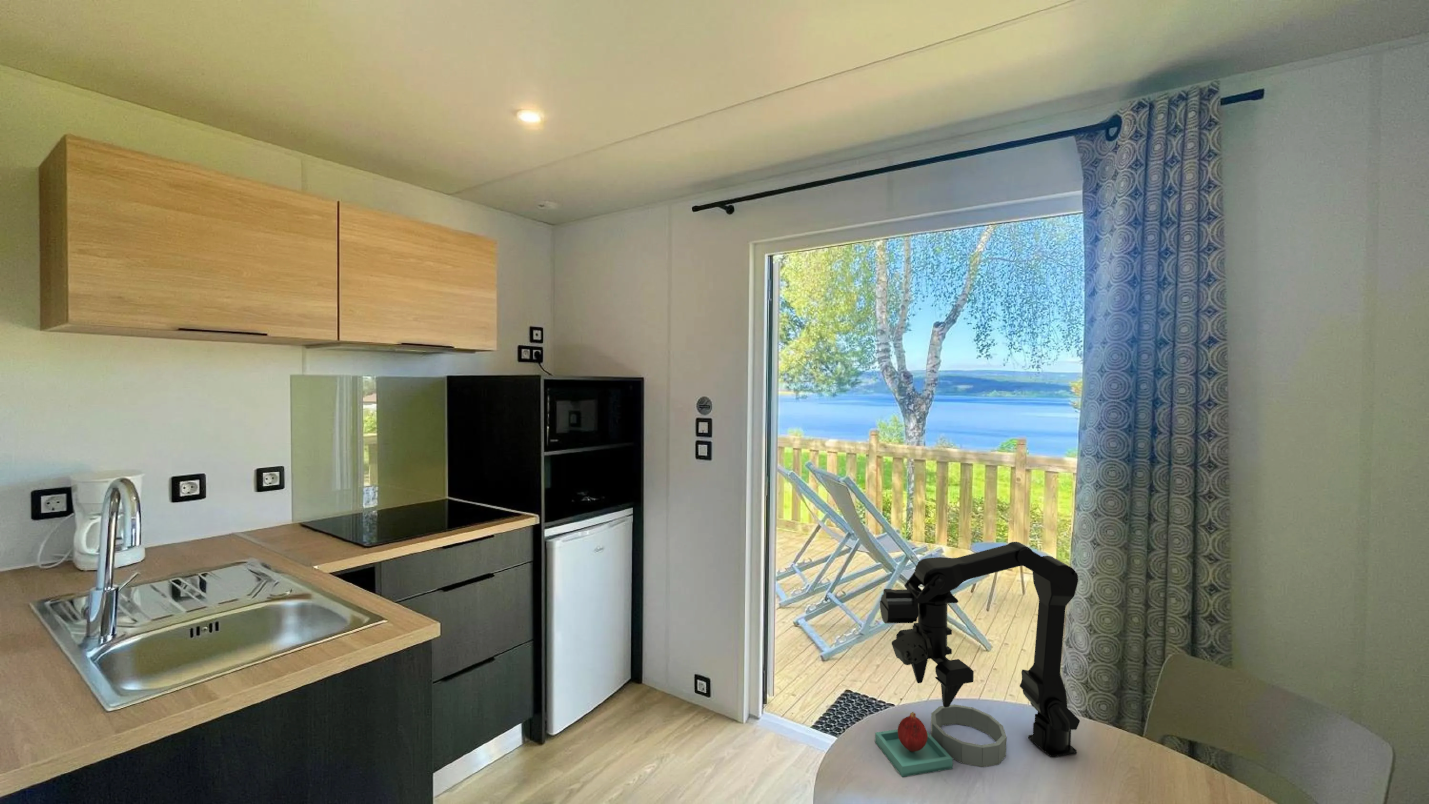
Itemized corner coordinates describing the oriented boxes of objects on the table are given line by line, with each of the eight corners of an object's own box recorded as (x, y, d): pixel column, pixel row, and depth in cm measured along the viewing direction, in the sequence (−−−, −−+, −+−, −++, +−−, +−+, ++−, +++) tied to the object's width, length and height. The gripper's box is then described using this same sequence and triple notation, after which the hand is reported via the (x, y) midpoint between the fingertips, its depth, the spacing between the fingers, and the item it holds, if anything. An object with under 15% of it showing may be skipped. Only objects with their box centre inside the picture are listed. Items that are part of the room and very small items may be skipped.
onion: (929, 762, 112) (930, 723, 112) (899, 758, 114) (900, 720, 113) (924, 744, 118) (925, 706, 118) (895, 740, 119) (896, 703, 119)
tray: (921, 735, 122) (921, 725, 122) (952, 768, 112) (952, 758, 112) (875, 741, 120) (875, 732, 120) (902, 776, 109) (902, 766, 109)
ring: (974, 718, 128) (974, 701, 128) (1020, 760, 114) (1021, 741, 114) (918, 726, 125) (918, 709, 125) (958, 770, 111) (959, 751, 111)
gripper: (874, 608, 125) (874, 676, 126) (924, 647, 107) (924, 727, 108) (919, 602, 127) (919, 669, 128) (975, 640, 109) (975, 718, 110)
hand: (932, 694), depth 118 cm, fingers open, 9 cm apart
